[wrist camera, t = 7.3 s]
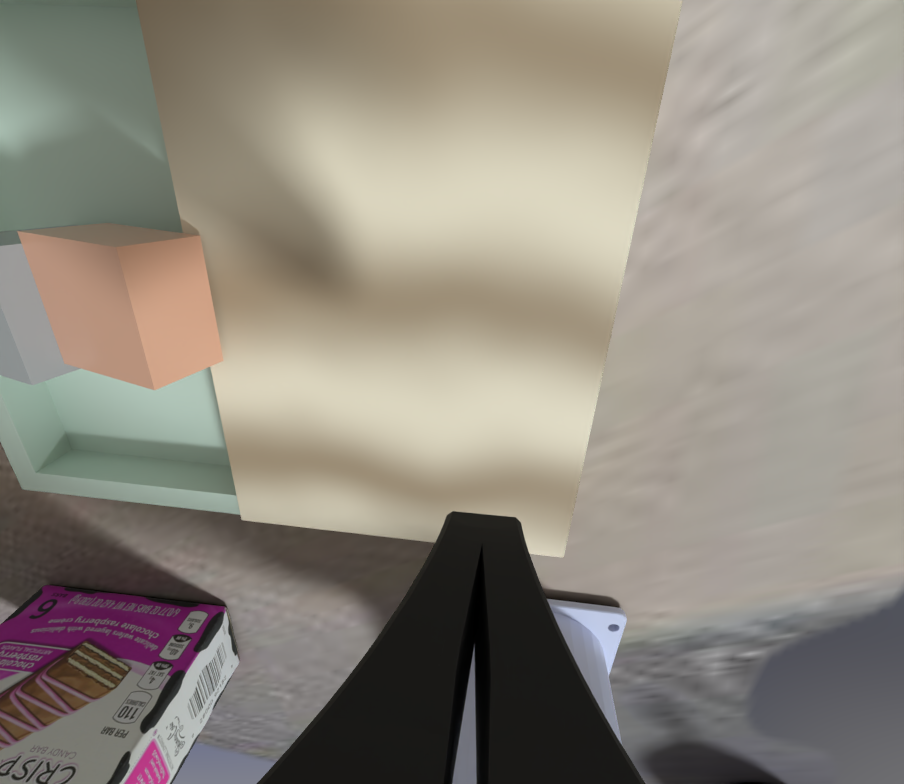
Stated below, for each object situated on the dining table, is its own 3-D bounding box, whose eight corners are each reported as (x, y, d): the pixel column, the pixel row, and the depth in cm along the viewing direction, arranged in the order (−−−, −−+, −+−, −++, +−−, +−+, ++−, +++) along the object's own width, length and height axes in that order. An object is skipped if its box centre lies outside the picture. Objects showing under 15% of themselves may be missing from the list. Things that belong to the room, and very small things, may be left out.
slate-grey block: (32, 385, 14) (-19, 369, 15) (153, 343, 17) (106, 332, 18) (-22, 248, 12) (-77, 238, 13) (124, 231, 15) (73, 224, 16)
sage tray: (269, 482, 21) (245, 515, 19) (65, 460, 22) (22, 489, 20) (187, -32, 13) (130, -67, 11) (-133, -40, 14) (-239, -74, 12)
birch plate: (557, 513, 20) (563, 557, 18) (269, 482, 21) (241, 520, 19) (661, -21, 12) (695, -62, 10) (187, -32, 13) (121, -73, 11)
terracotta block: (223, 360, 15) (154, 390, 13) (139, 339, 17) (64, 363, 15) (200, 235, 14) (115, 246, 12) (107, 222, 15) (17, 230, 13)
